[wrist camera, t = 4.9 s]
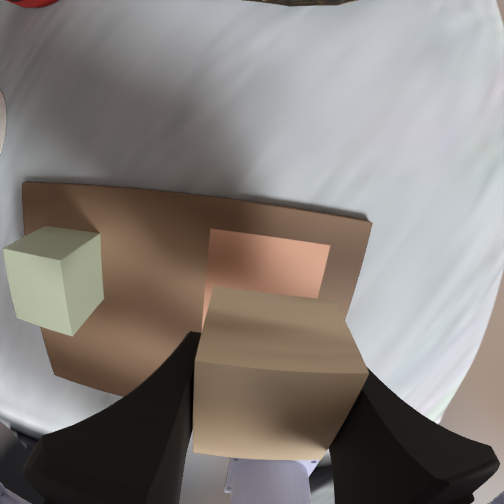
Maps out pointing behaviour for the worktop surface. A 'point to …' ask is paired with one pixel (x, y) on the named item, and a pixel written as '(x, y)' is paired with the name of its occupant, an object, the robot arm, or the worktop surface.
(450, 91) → the worktop surface
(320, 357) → the maple brick
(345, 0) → the wood slice
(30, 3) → the canned food
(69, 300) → the sage cube
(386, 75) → the worktop surface
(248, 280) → the brown flat board
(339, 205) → the worktop surface
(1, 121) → the cylindrical container
